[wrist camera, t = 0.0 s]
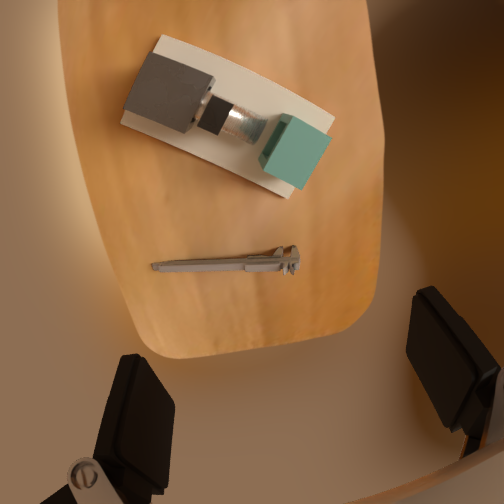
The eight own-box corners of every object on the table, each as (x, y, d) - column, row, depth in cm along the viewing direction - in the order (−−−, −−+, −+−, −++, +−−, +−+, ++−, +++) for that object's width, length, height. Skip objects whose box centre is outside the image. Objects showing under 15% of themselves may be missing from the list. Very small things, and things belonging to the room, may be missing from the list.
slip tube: (154, 68, 29) (130, 60, 21) (265, 117, 33) (277, 123, 25) (141, 95, 30) (114, 95, 22) (251, 143, 34) (258, 157, 26)
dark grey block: (162, 58, 30) (149, 51, 24) (216, 80, 32) (213, 76, 26) (139, 106, 32) (122, 108, 27) (191, 128, 34) (184, 133, 29)
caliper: (295, 243, 44) (304, 266, 38) (295, 250, 44) (305, 273, 39) (151, 262, 43) (142, 286, 38) (153, 268, 44) (144, 293, 38)
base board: (163, 35, 29) (162, 34, 28) (332, 116, 35) (335, 117, 34) (122, 122, 34) (119, 123, 33) (286, 196, 40) (288, 199, 39)
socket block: (283, 112, 34) (293, 115, 28) (316, 131, 35) (332, 138, 30) (257, 159, 36) (262, 170, 31) (290, 175, 38) (301, 190, 32)
